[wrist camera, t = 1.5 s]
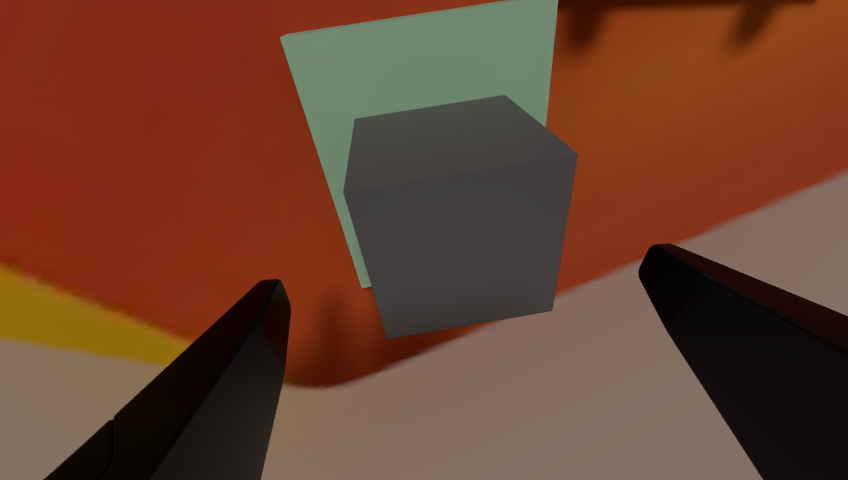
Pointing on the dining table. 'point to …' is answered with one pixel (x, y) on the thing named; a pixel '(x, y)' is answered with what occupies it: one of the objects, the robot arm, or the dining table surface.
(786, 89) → the dining table surface
